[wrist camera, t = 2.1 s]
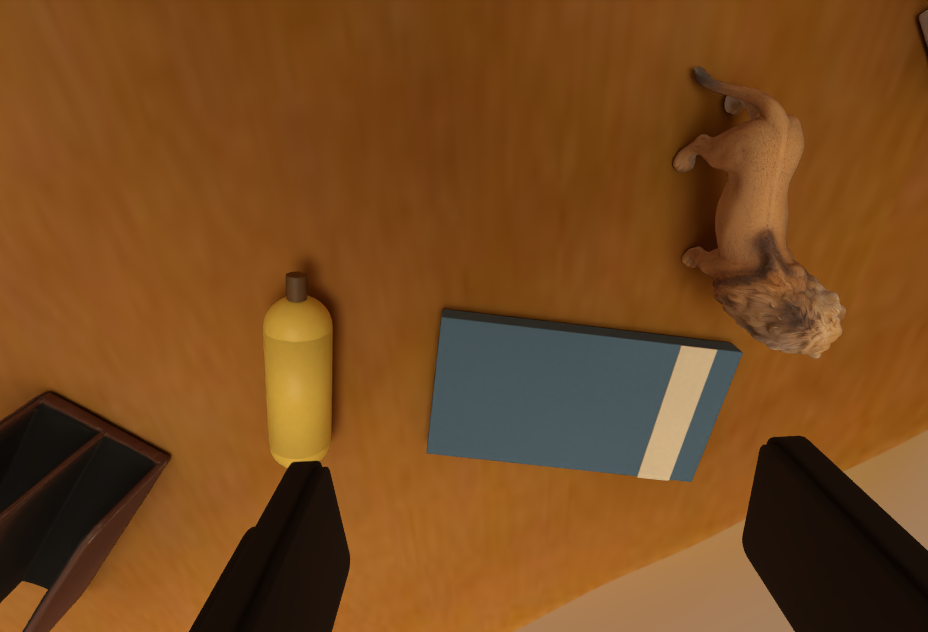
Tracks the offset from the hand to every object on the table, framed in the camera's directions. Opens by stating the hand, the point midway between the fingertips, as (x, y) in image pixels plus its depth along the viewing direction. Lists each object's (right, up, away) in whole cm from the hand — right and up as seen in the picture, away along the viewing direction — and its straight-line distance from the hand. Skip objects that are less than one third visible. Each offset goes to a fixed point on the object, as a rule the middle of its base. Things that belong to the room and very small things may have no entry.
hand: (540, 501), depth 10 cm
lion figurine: (+14, +11, +18) cm, 25 cm away
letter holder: (-34, -11, +28) cm, 46 cm away
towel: (+6, -2, +23) cm, 24 cm away
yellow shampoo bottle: (-13, 0, +23) cm, 26 cm away
